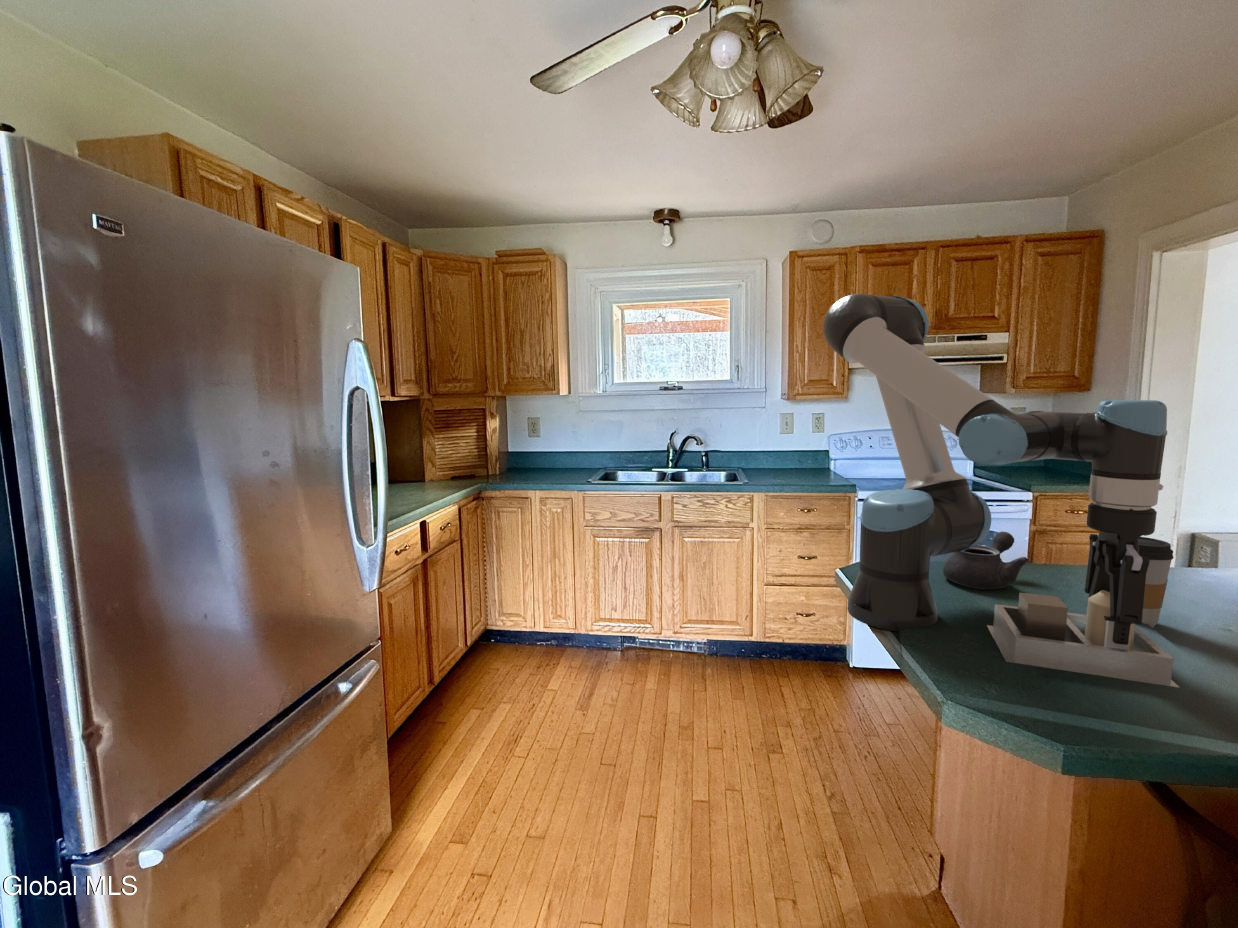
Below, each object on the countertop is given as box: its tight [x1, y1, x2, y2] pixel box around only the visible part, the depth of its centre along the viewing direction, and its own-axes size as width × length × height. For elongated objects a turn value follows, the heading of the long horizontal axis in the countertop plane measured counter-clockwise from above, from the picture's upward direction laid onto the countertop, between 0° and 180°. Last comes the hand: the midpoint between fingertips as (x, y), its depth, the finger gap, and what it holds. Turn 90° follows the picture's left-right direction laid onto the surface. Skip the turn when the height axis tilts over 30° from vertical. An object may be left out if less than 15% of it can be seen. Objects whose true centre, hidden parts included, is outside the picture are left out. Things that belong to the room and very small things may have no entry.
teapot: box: [942, 531, 1030, 590], centre depth 120 cm, size 19×15×10 cm
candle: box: [1085, 590, 1136, 650], centre depth 83 cm, size 6×6×10 cm
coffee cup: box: [1138, 536, 1174, 629], centre depth 98 cm, size 8×8×15 cm
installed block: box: [1017, 592, 1069, 641], centre depth 87 cm, size 5×5×8 cm
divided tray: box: [986, 603, 1181, 688], centre depth 85 cm, size 20×14×5 cm
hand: (1105, 652), depth 84 cm, fingers open, 6 cm apart
